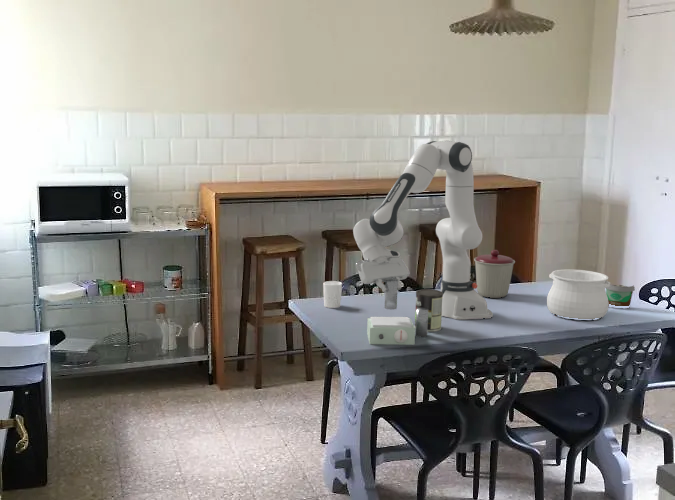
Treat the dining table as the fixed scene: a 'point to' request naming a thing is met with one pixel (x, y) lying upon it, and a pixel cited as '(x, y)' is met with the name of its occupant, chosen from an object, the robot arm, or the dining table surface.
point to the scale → (390, 330)
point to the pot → (578, 294)
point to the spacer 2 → (421, 322)
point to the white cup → (332, 294)
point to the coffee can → (430, 307)
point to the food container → (619, 295)
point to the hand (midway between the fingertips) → (392, 290)
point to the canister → (493, 274)
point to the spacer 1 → (391, 294)
